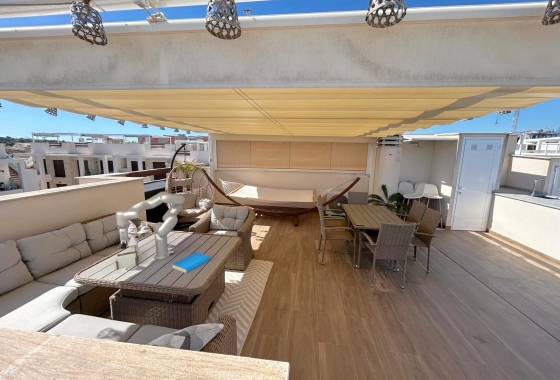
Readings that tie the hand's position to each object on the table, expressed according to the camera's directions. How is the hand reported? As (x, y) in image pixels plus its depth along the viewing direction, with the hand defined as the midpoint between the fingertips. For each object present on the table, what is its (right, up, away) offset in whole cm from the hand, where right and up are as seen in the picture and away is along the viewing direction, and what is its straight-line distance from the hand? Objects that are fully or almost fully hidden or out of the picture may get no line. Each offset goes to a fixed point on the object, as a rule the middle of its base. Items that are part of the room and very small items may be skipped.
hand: (124, 246), depth 180 cm
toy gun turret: (-7, -14, +24) cm, 29 cm away
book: (+50, -18, +10) cm, 54 cm away
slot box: (-3, -17, +8) cm, 19 cm away
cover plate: (0, -17, +4) cm, 18 cm away
